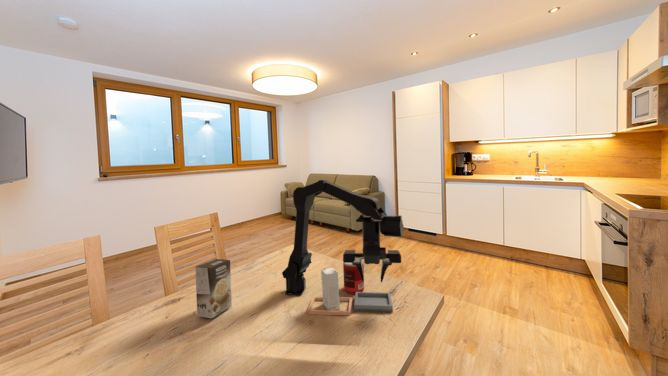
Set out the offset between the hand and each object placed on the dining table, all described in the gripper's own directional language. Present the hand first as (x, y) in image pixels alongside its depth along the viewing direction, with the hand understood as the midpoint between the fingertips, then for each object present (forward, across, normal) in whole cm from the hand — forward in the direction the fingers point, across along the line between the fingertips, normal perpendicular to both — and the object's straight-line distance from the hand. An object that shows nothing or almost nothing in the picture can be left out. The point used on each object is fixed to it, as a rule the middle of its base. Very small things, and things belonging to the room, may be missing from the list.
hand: (372, 281), depth 91 cm
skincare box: (+8, -14, -2) cm, 16 cm away
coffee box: (+8, -52, -8) cm, 53 cm away
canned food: (+8, -7, +12) cm, 16 cm away
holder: (+8, -14, -2) cm, 16 cm away
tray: (+8, 0, 0) cm, 8 cm away
